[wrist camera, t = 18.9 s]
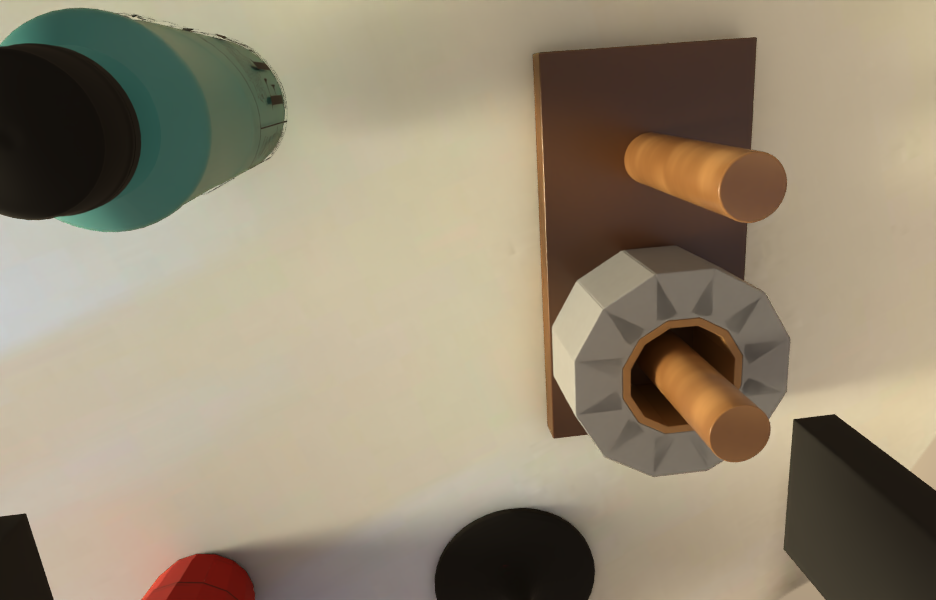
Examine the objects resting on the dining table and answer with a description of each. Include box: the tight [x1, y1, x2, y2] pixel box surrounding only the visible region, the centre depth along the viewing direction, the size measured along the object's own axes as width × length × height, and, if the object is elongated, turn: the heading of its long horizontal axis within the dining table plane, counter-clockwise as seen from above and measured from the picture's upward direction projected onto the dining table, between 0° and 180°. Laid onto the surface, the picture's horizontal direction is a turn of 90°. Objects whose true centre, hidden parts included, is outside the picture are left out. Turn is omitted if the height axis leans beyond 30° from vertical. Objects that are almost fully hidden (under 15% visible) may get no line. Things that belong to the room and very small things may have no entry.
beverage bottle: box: [0, 8, 287, 232], centre depth 25 cm, size 6×7×20 cm
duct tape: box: [552, 245, 790, 477], centre depth 36 cm, size 11×11×5 cm
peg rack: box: [533, 37, 787, 462], centre depth 33 cm, size 21×11×13 cm, turn 4°
